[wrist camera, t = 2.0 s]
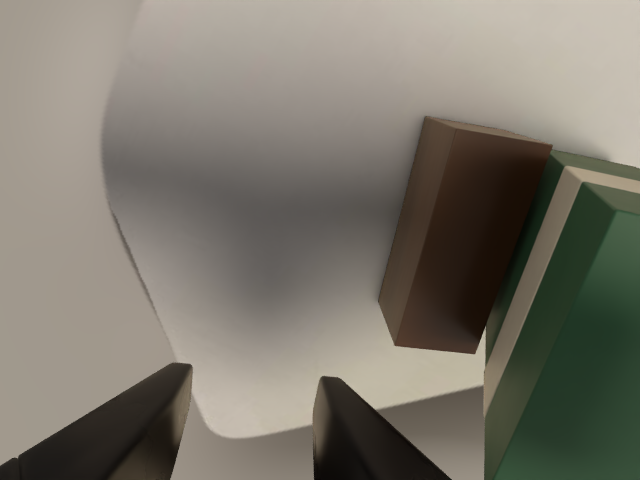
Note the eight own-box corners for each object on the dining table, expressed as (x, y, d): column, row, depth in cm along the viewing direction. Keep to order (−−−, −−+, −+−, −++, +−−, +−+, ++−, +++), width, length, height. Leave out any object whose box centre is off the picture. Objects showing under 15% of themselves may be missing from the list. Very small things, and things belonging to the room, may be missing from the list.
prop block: (377, 301, 23) (394, 346, 20) (425, 116, 20) (456, 128, 16) (446, 309, 24) (475, 354, 20) (505, 130, 20) (553, 145, 16)
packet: (484, 306, 24) (481, 500, 12) (543, 146, 20) (613, 206, 9) (562, 331, 23) (639, 569, 11) (638, 166, 19) (859, 263, 8)
